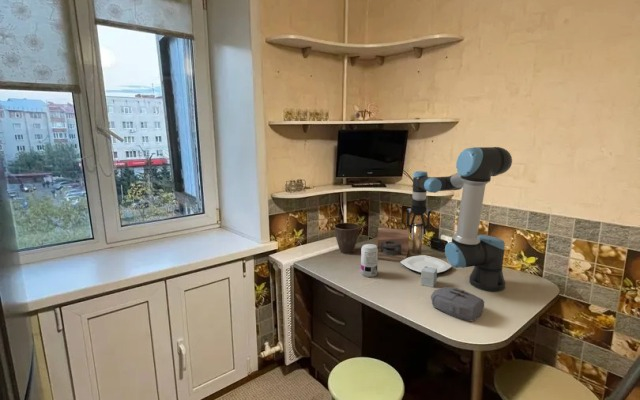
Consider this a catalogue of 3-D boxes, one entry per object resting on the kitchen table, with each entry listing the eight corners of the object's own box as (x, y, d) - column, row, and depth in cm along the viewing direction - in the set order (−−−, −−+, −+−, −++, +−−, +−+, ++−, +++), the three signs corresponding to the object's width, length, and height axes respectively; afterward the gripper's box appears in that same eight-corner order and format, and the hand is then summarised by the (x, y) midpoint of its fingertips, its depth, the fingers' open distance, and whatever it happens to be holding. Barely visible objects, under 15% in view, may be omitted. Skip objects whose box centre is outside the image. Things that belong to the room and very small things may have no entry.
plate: (458, 269, 179) (458, 266, 178) (427, 280, 167) (428, 276, 166) (423, 256, 198) (423, 252, 197) (394, 264, 186) (394, 261, 185)
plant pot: (345, 245, 216) (345, 221, 213) (364, 251, 206) (364, 225, 203) (329, 251, 206) (329, 226, 203) (348, 258, 196) (348, 231, 193)
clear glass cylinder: (421, 255, 195) (422, 224, 191) (411, 254, 196) (412, 224, 193) (421, 252, 200) (423, 222, 196) (412, 251, 202) (413, 221, 198)
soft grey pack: (487, 312, 138) (440, 295, 152) (489, 293, 136) (442, 277, 150) (471, 327, 128) (423, 307, 142) (473, 306, 126) (424, 288, 140)
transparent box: (405, 262, 188) (406, 239, 186) (372, 258, 194) (373, 236, 191) (408, 251, 205) (409, 230, 202) (378, 248, 211) (378, 227, 208)
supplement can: (357, 274, 174) (358, 246, 171) (367, 269, 180) (367, 242, 177) (370, 279, 168) (371, 250, 165) (380, 273, 174) (381, 245, 171)
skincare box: (433, 287, 159) (434, 272, 157) (420, 284, 162) (421, 270, 161) (436, 282, 164) (437, 268, 162) (423, 280, 167) (424, 265, 166)
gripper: (436, 198, 192) (433, 238, 197) (403, 196, 198) (401, 235, 203) (436, 201, 186) (433, 242, 190) (402, 199, 191) (400, 239, 196)
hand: (417, 238), depth 196 cm, fingers closed on clear glass cylinder, 5 cm apart
